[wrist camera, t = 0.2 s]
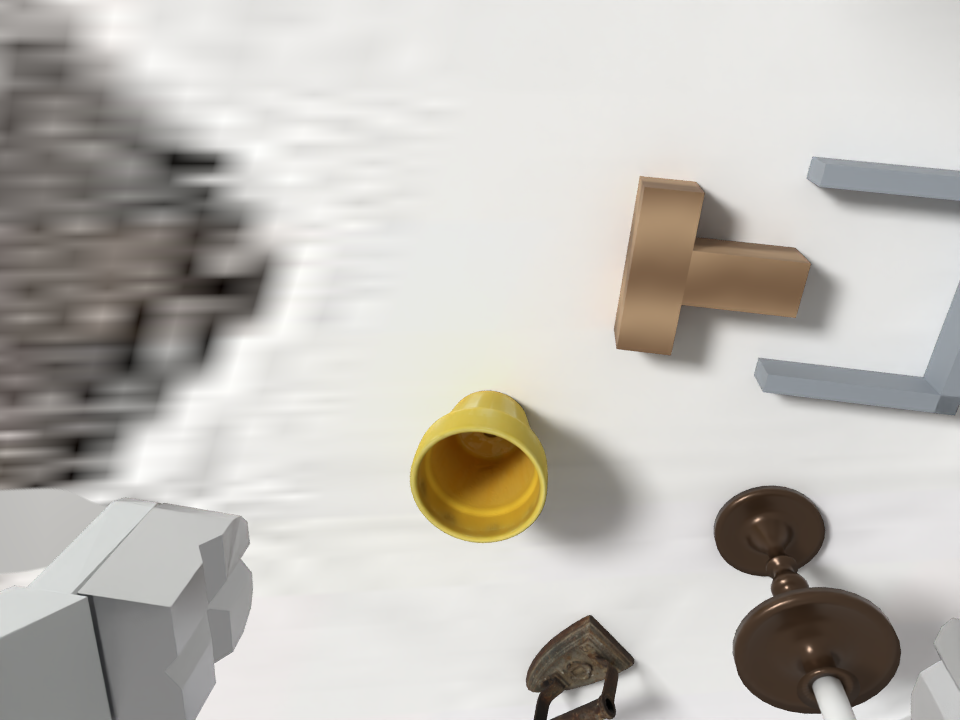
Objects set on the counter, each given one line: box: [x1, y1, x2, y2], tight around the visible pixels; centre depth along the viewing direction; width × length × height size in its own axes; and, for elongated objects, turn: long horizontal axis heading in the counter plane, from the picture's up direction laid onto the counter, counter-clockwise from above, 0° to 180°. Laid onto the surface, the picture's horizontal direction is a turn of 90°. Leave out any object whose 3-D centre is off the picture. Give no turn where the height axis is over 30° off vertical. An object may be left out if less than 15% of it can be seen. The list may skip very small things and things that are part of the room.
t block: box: [614, 176, 811, 355], centre depth 52 cm, size 12×12×4 cm
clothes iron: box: [526, 615, 634, 720], centre depth 70 cm, size 7×11×10 cm, turn 132°
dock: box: [754, 157, 960, 415], centre depth 52 cm, size 17×14×3 cm
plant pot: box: [410, 391, 548, 543], centre depth 58 cm, size 10×10×10 cm
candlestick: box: [714, 486, 901, 720], centre depth 47 cm, size 11×11×35 cm
